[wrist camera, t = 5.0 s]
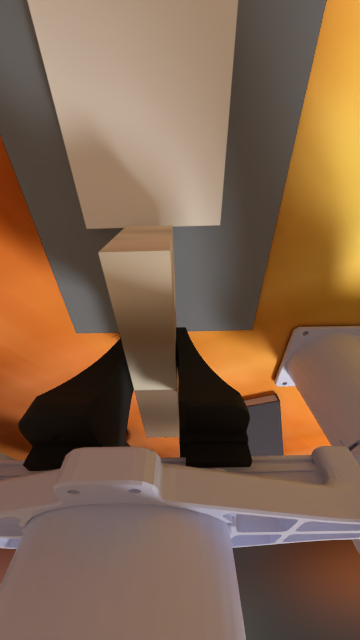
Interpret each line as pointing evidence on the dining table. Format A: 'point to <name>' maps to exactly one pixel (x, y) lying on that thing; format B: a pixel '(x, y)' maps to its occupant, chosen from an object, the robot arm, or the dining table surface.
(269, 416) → the notebook
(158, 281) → the long wooden beam
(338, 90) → the dining table surface
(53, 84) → the tile
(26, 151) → the slate mat
